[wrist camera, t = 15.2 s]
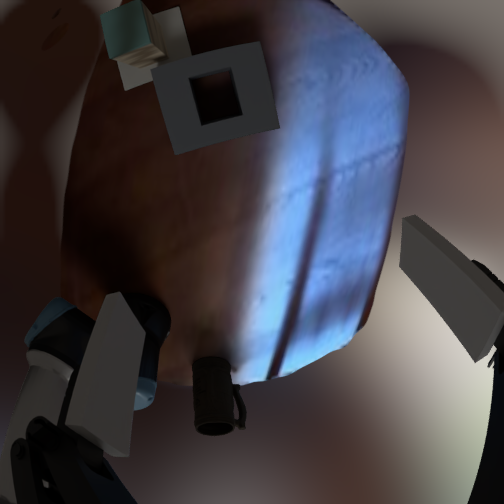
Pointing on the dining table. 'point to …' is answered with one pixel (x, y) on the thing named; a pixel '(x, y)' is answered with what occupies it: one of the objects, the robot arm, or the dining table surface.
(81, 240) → the dining table surface
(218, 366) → the beer stein
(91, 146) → the dining table surface
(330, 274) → the dining table surface
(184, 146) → the block
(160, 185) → the dining table surface
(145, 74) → the coaster
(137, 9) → the teal and tan block
